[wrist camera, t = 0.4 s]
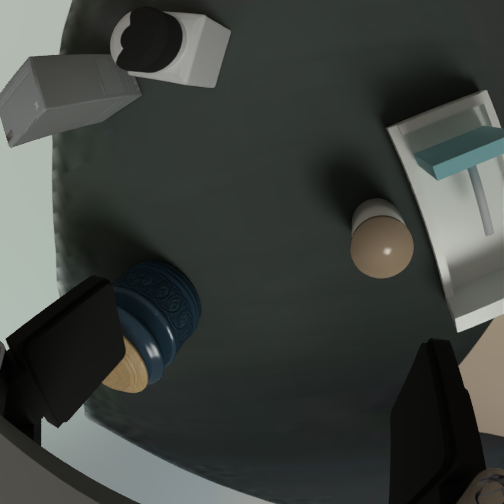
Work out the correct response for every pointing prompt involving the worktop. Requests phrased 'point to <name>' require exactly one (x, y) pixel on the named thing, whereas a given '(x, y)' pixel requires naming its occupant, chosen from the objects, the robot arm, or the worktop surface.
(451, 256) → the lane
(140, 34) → the medicine bottle
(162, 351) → the canister
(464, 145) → the pusher
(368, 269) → the jar
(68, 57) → the skincare box
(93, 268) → the worktop surface
